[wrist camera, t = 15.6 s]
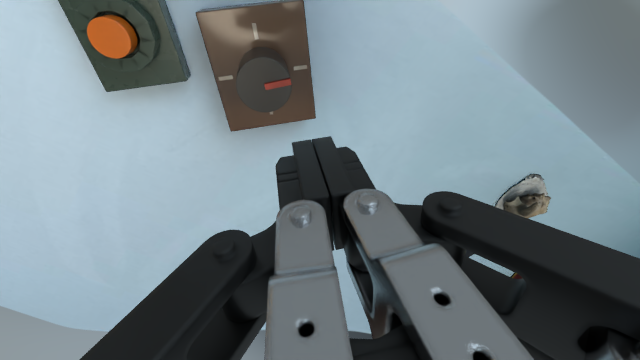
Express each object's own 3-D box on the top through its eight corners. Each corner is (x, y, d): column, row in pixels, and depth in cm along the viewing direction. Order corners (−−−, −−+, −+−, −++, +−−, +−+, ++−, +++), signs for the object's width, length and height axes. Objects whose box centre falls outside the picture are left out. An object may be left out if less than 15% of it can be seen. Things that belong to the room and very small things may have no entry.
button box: (57, -29, 25) (28, -30, 22) (151, -38, 26) (136, -41, 23) (115, 85, 31) (98, 98, 28) (190, 75, 32) (183, 86, 28)
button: (88, 17, 24) (78, 19, 23) (127, 12, 25) (119, 14, 23) (107, 56, 26) (99, 61, 25) (144, 52, 27) (137, 56, 25)
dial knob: (247, 100, 31) (245, 118, 27) (231, 52, 28) (227, 64, 24) (291, 91, 32) (297, 107, 27) (281, 42, 29) (285, 52, 25)
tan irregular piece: (494, 226, 58) (517, 249, 54) (485, 198, 51) (511, 222, 46) (541, 197, 56) (568, 219, 52) (538, 164, 49) (570, 186, 44)
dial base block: (200, 9, 28) (194, 12, 26) (299, -2, 29) (303, -1, 27) (232, 121, 35) (230, 132, 33) (311, 109, 36) (316, 119, 34)
